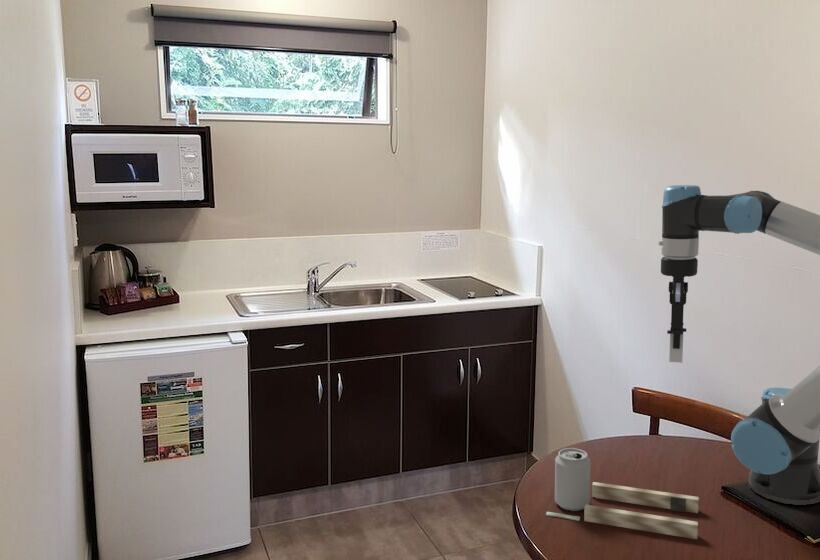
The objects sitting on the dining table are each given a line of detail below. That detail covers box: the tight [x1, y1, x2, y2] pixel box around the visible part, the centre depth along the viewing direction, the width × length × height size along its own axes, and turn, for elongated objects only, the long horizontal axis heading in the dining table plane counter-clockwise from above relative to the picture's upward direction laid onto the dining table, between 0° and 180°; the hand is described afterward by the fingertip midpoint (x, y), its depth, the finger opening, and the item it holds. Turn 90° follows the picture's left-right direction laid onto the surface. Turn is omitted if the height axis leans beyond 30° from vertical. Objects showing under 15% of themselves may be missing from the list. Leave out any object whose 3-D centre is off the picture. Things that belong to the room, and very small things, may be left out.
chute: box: [545, 481, 700, 540], centre depth 155 cm, size 30×13×3 cm, turn 68°
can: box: [554, 447, 591, 512], centre depth 158 cm, size 8×8×12 cm
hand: (675, 361), depth 163 cm, fingers closed
